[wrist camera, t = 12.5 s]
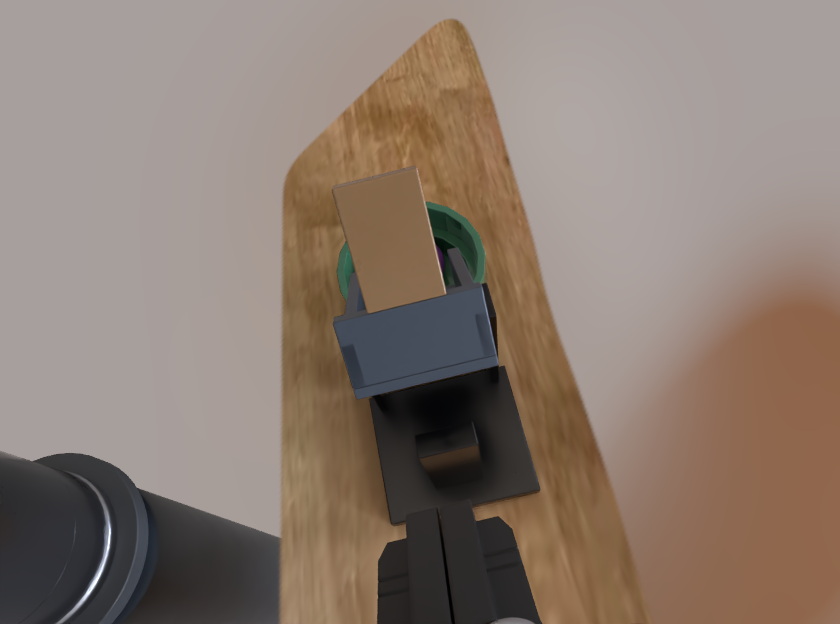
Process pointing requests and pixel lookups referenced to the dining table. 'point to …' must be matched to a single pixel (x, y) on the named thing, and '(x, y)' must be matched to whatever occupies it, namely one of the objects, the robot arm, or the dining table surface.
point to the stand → (453, 441)
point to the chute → (404, 292)
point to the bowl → (447, 235)
